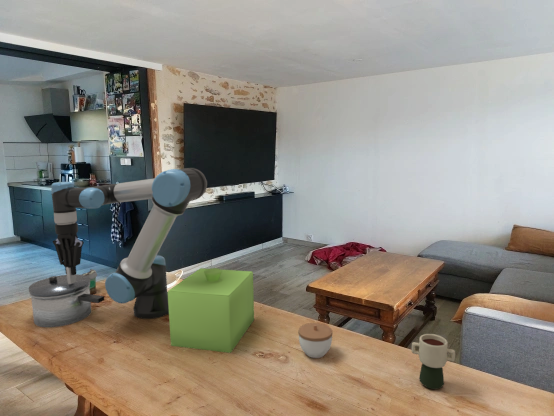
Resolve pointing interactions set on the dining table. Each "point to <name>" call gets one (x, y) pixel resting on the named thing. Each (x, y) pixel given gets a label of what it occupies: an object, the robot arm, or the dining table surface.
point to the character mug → (432, 359)
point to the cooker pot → (63, 308)
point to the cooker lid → (58, 286)
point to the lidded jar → (315, 339)
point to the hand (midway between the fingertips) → (72, 282)
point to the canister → (211, 309)
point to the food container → (92, 281)
